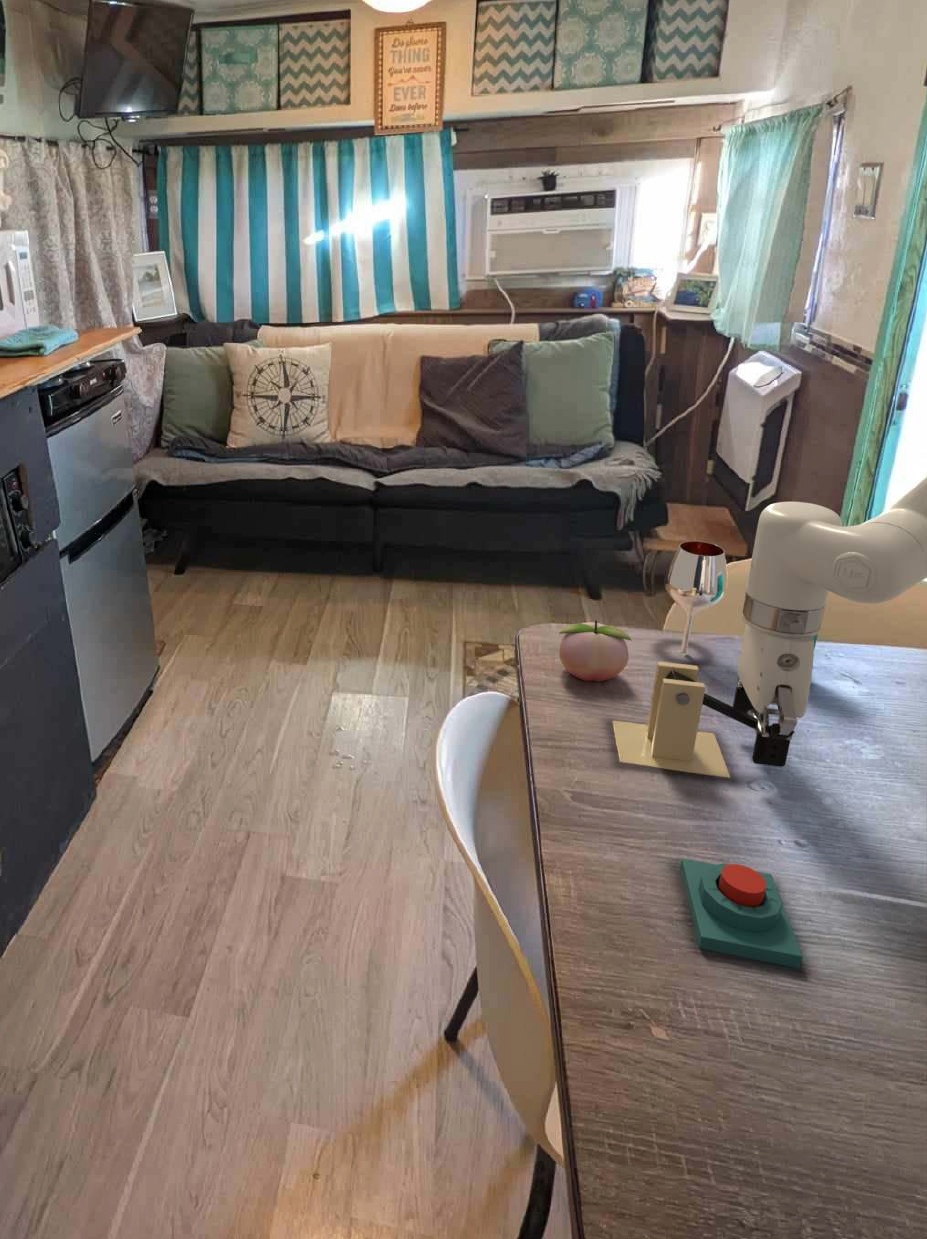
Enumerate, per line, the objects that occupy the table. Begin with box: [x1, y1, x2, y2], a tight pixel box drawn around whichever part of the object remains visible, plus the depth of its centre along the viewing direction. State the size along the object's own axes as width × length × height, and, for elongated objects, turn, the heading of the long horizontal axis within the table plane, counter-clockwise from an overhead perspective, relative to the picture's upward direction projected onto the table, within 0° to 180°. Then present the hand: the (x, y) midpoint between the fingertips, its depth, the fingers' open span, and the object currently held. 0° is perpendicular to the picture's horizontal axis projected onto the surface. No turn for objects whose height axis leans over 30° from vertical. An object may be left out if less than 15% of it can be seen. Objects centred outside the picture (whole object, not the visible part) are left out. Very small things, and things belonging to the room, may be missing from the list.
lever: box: [661, 670, 761, 736], centre depth 97 cm, size 12×5×2 cm, turn 72°
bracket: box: [611, 661, 731, 779], centre depth 100 cm, size 12×9×12 cm
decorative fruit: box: [558, 619, 632, 683], centre depth 116 cm, size 9×8×10 cm
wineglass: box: [663, 540, 729, 656], centre depth 120 cm, size 8×8×18 cm
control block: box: [679, 858, 803, 969], centre depth 77 cm, size 8×10×4 cm
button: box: [719, 863, 766, 907], centre depth 76 cm, size 4×4×2 cm
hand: (756, 739), depth 97 cm, fingers open, 9 cm apart
